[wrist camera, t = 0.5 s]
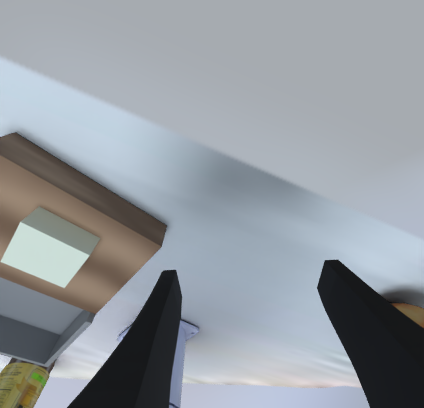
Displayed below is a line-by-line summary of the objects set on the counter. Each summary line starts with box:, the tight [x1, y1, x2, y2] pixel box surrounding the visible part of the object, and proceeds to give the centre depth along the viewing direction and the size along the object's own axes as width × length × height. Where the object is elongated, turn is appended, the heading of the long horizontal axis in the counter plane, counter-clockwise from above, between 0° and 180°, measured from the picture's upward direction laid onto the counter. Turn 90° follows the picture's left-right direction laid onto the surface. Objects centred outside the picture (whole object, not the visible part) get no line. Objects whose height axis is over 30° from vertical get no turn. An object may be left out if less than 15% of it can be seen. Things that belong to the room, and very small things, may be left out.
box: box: [0, 277, 96, 367], centre depth 25 cm, size 13×14×4 cm
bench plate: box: [0, 132, 167, 314], centre depth 21 cm, size 13×14×3 cm
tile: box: [0, 207, 100, 288], centre depth 18 cm, size 5×5×2 cm
